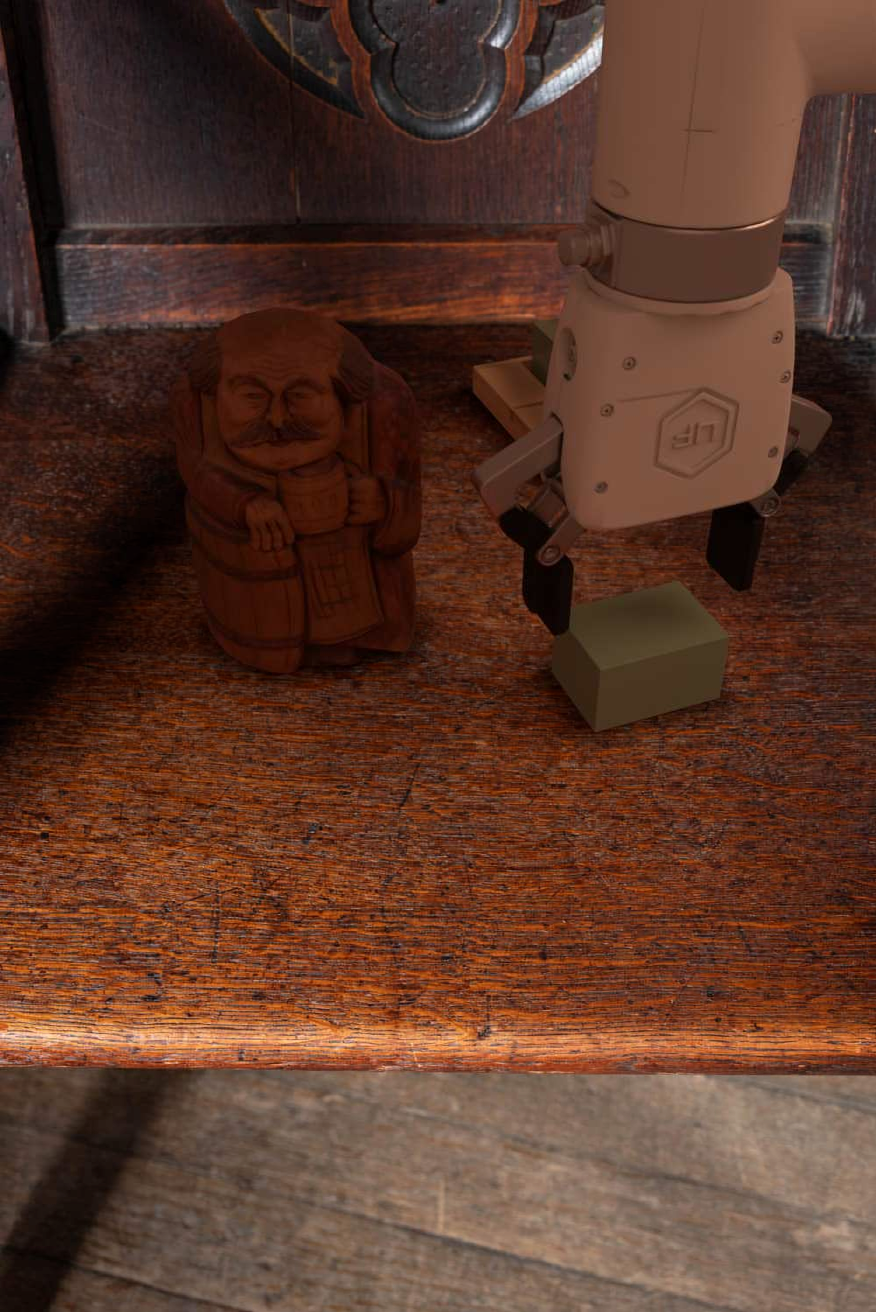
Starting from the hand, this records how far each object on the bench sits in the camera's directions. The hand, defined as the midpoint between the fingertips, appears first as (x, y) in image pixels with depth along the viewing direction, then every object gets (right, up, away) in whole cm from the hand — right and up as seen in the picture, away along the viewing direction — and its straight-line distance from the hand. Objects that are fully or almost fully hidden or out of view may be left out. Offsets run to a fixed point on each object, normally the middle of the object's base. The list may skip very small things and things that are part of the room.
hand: (639, 596), depth 60 cm
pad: (0, -4, +4) cm, 6 cm away
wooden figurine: (-16, -2, +7) cm, 18 cm away
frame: (+2, +14, +26) cm, 29 cm away
